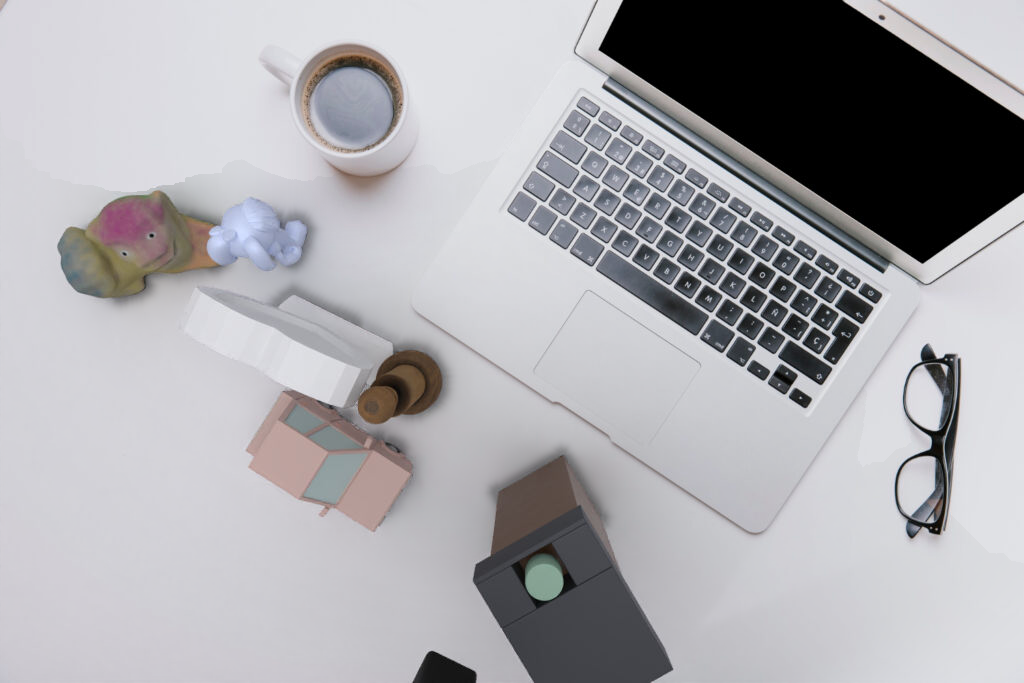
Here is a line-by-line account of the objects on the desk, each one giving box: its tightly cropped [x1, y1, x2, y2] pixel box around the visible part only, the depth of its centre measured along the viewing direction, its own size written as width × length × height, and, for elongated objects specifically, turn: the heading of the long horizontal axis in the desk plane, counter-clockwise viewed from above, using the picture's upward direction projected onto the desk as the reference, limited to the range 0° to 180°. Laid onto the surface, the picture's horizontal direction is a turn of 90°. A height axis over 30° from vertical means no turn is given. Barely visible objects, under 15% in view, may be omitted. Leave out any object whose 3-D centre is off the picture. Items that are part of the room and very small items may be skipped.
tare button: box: [525, 553, 563, 601], centre depth 47 cm, size 3×3×2 cm
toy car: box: [245, 389, 414, 533], centre depth 66 cm, size 9×15×10 cm, turn 57°
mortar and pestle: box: [356, 349, 443, 425], centre depth 61 cm, size 7×6×18 cm
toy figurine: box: [207, 196, 308, 272], centre depth 64 cm, size 7×6×12 cm
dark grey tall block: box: [472, 454, 674, 683], centre depth 59 cm, size 13×9×24 cm
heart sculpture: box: [177, 286, 394, 409], centre depth 61 cm, size 16×5×18 cm, turn 64°
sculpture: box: [56, 189, 220, 299], centre depth 65 cm, size 15×8×10 cm, turn 114°
